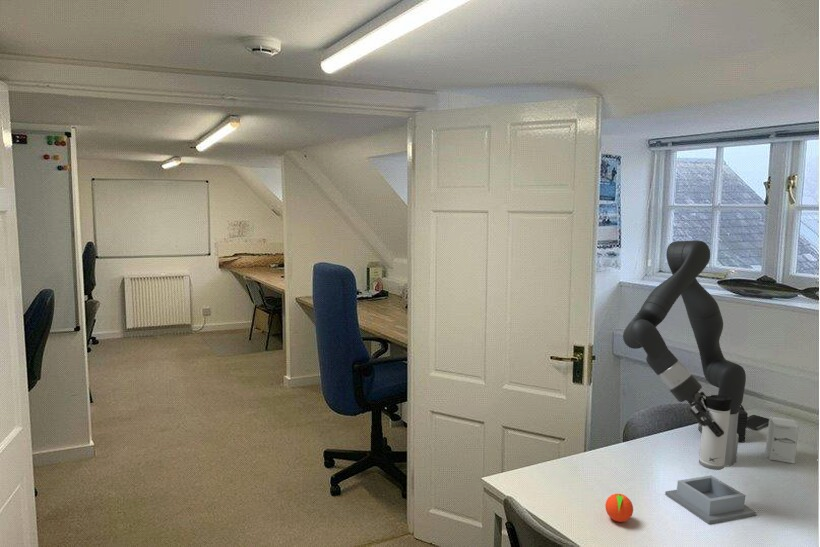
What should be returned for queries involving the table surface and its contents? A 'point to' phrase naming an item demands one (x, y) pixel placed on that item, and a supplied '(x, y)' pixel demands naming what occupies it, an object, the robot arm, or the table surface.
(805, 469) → the table surface
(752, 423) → the phone
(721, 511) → the mug dock
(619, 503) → the clementine
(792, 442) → the supplement box
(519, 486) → the table surface
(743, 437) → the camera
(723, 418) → the travel mug
